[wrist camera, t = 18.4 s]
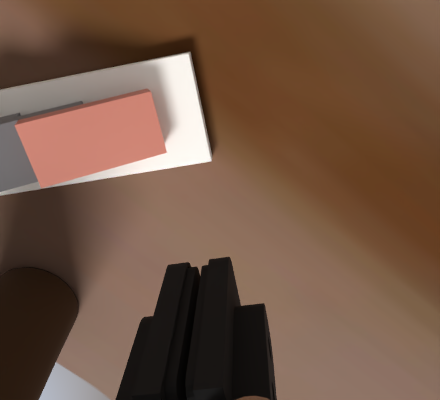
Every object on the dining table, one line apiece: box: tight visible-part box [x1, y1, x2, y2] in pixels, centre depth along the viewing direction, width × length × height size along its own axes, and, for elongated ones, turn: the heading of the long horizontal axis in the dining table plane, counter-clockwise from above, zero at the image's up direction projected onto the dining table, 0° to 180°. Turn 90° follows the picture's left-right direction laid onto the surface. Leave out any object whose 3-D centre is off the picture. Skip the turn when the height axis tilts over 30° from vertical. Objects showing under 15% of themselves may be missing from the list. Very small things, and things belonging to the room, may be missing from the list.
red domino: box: [15, 89, 167, 188], centre depth 31 cm, size 2×5×10 cm
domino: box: [0, 101, 83, 192], centre depth 32 cm, size 2×5×10 cm
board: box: [0, 52, 212, 196], centre depth 35 cm, size 27×9×1 cm, turn 101°
